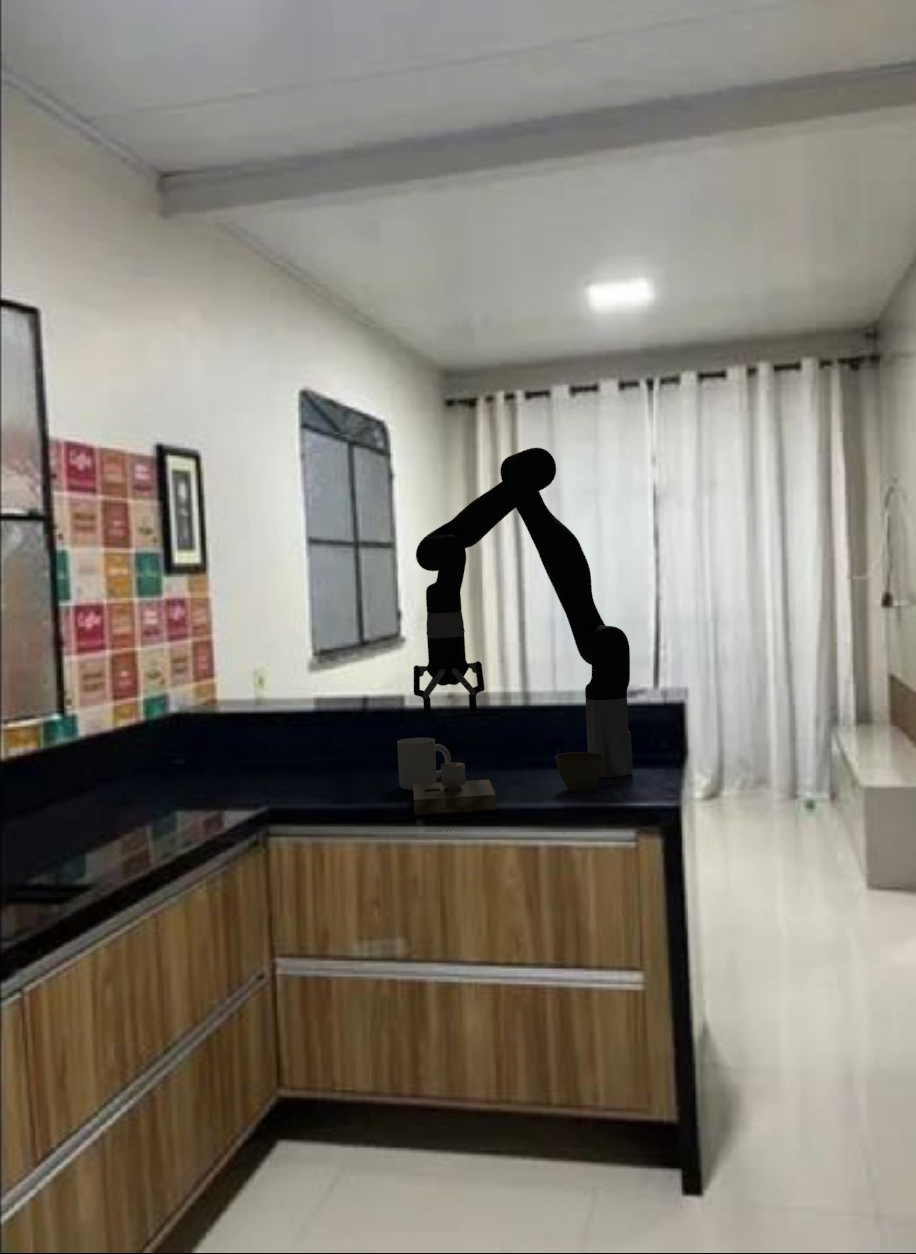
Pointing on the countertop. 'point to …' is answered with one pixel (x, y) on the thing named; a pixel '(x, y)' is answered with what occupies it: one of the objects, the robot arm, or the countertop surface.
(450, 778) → the knob
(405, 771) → the mug
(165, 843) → the countertop surface
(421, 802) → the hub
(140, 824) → the countertop surface
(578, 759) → the yellowish brown bowl
